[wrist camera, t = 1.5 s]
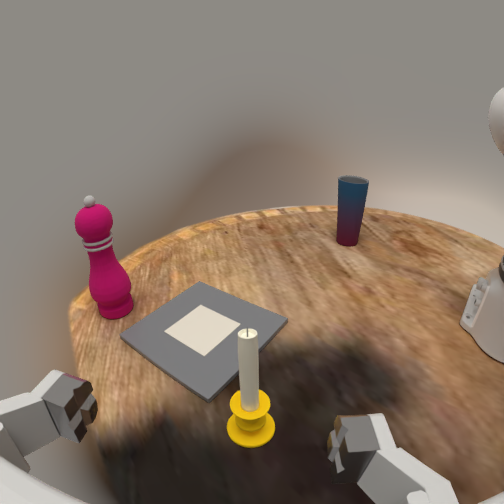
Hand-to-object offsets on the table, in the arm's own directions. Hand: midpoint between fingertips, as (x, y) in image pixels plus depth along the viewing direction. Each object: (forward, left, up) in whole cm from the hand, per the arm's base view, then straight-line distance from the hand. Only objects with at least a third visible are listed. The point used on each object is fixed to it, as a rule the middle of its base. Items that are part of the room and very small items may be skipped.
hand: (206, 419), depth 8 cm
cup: (-60, -14, -22) cm, 66 cm away
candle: (-10, -6, -22) cm, 25 cm away
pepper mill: (-14, -37, -22) cm, 46 cm away
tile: (-19, -21, -22) cm, 36 cm away
